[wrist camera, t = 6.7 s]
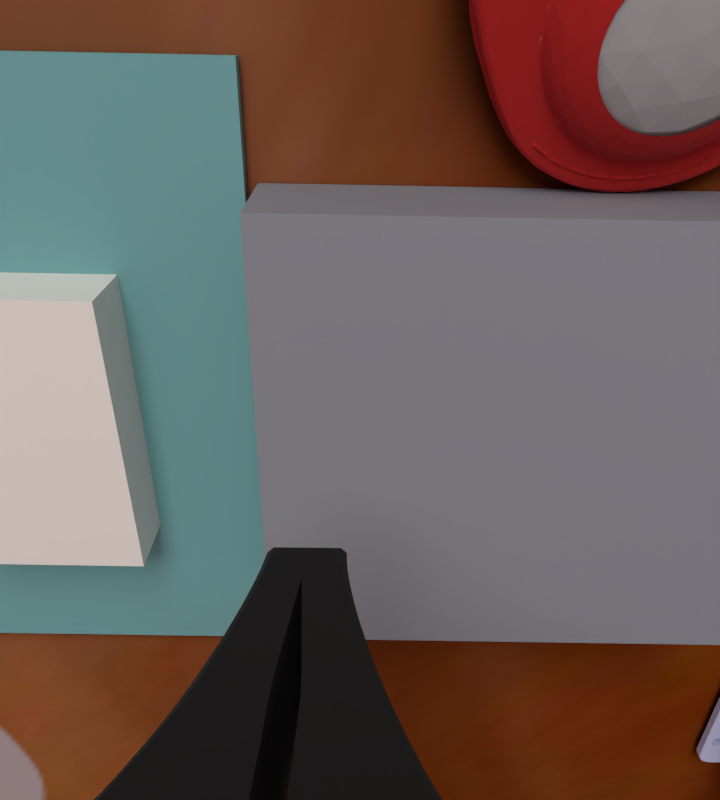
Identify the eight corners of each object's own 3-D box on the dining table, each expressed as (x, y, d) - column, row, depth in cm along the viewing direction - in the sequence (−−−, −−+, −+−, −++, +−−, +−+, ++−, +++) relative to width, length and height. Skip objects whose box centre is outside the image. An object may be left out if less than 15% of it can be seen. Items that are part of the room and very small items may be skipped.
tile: (-46, 563, 21) (-15, 521, 23) (143, 566, 21) (160, 524, 23) (-149, 297, 17) (-101, 270, 18) (92, 301, 17) (117, 274, 19)
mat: (276, 628, 26) (275, 636, 26) (-83, 623, 26) (-88, 631, 26) (238, 55, 16) (235, 56, 16) (-346, 44, 16) (-361, 44, 16)
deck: (686, 578, 25) (723, 645, 22) (280, 572, 25) (271, 638, 22) (824, 193, 18) (903, 225, 15) (257, 183, 18) (240, 213, 15)
